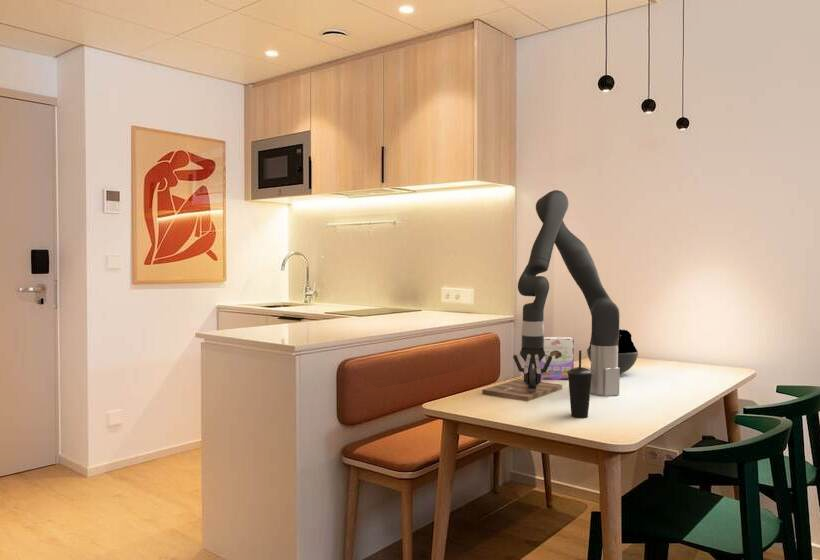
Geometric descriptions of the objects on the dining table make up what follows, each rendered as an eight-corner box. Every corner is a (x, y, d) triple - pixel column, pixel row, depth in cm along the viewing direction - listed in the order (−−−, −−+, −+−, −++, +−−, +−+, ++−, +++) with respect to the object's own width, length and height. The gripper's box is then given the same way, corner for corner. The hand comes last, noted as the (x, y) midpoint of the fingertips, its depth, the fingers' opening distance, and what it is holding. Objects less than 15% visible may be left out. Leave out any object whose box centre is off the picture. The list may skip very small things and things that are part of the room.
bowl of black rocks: (642, 379, 252) (642, 332, 251) (589, 378, 255) (590, 331, 255) (632, 370, 272) (633, 326, 271) (584, 369, 275) (584, 325, 274)
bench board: (518, 382, 246) (518, 378, 246) (562, 388, 234) (562, 384, 234) (482, 394, 225) (482, 389, 225) (527, 401, 214) (527, 396, 214)
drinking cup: (588, 413, 198) (588, 348, 197) (596, 419, 190) (596, 352, 190) (563, 413, 198) (564, 348, 197) (570, 419, 190) (571, 352, 189)
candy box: (571, 377, 257) (572, 336, 256) (573, 380, 251) (574, 338, 250) (536, 376, 258) (537, 336, 258) (538, 379, 252) (538, 338, 252)
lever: (525, 379, 241) (525, 353, 241) (536, 380, 240) (536, 353, 240) (526, 392, 219) (526, 363, 219) (538, 392, 218) (538, 363, 218)
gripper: (553, 333, 222) (552, 382, 223) (512, 332, 224) (511, 381, 225) (554, 335, 215) (553, 387, 215) (512, 334, 217) (511, 385, 217)
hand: (532, 383), depth 220 cm, fingers closed on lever, 3 cm apart
